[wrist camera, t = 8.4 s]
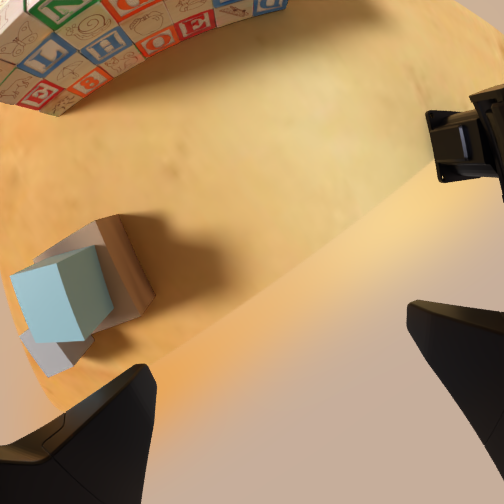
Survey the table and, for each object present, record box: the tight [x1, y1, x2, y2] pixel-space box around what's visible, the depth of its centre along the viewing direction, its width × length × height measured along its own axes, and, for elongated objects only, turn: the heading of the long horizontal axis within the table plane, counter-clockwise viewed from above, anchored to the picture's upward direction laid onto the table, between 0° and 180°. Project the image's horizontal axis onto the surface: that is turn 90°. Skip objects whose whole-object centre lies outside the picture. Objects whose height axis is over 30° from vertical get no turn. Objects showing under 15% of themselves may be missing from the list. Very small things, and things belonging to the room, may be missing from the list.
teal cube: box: [10, 245, 114, 343], centre depth 14 cm, size 4×4×4 cm
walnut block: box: [33, 214, 156, 334], centre depth 18 cm, size 7×7×4 cm
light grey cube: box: [19, 329, 95, 377], centre depth 19 cm, size 4×4×4 cm
